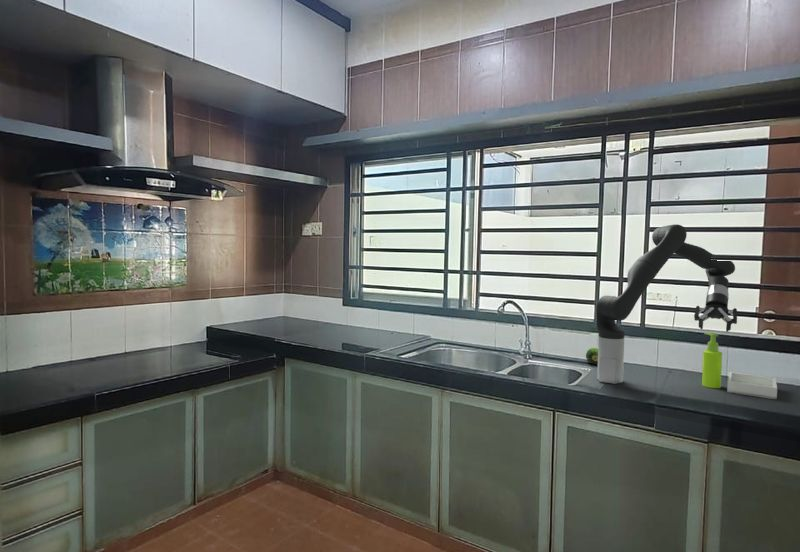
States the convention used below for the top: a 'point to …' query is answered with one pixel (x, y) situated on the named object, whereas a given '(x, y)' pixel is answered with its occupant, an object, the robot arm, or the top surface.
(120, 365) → the top surface
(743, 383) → the tray
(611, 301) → the robot arm
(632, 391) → the top surface
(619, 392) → the top surface
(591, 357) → the vegetable
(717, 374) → the soap dispenser
